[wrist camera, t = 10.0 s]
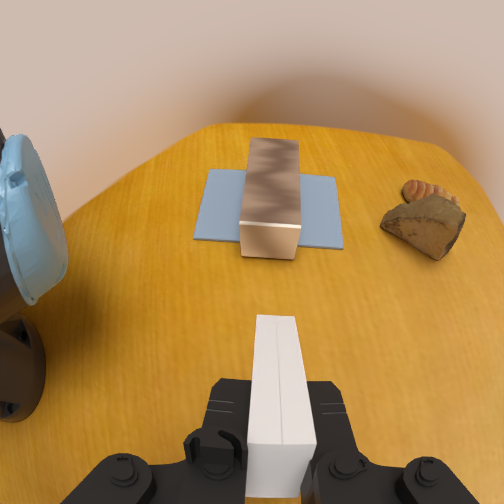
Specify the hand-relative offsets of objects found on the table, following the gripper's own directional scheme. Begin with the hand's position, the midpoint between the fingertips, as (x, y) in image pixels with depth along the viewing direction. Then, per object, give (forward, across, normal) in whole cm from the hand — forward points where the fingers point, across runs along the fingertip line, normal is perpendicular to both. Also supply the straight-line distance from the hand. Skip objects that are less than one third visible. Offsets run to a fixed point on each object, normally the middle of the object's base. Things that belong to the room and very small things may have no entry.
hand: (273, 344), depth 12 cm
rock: (+26, +20, +1) cm, 33 cm away
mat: (+28, 0, +3) cm, 28 cm away
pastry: (+30, +25, +5) cm, 39 cm away
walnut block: (+20, 0, 0) cm, 20 cm away
